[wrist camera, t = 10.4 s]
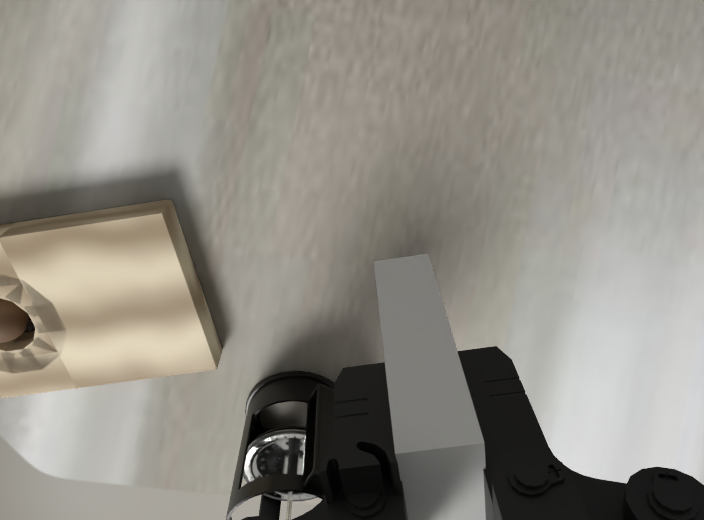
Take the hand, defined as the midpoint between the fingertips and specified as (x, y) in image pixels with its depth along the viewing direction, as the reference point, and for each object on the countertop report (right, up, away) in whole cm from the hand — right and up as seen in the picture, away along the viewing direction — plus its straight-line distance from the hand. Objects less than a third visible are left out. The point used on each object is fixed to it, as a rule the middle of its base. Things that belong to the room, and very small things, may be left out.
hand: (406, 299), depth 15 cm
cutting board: (-23, -2, +29) cm, 37 cm away
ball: (-29, -4, +27) cm, 40 cm away
